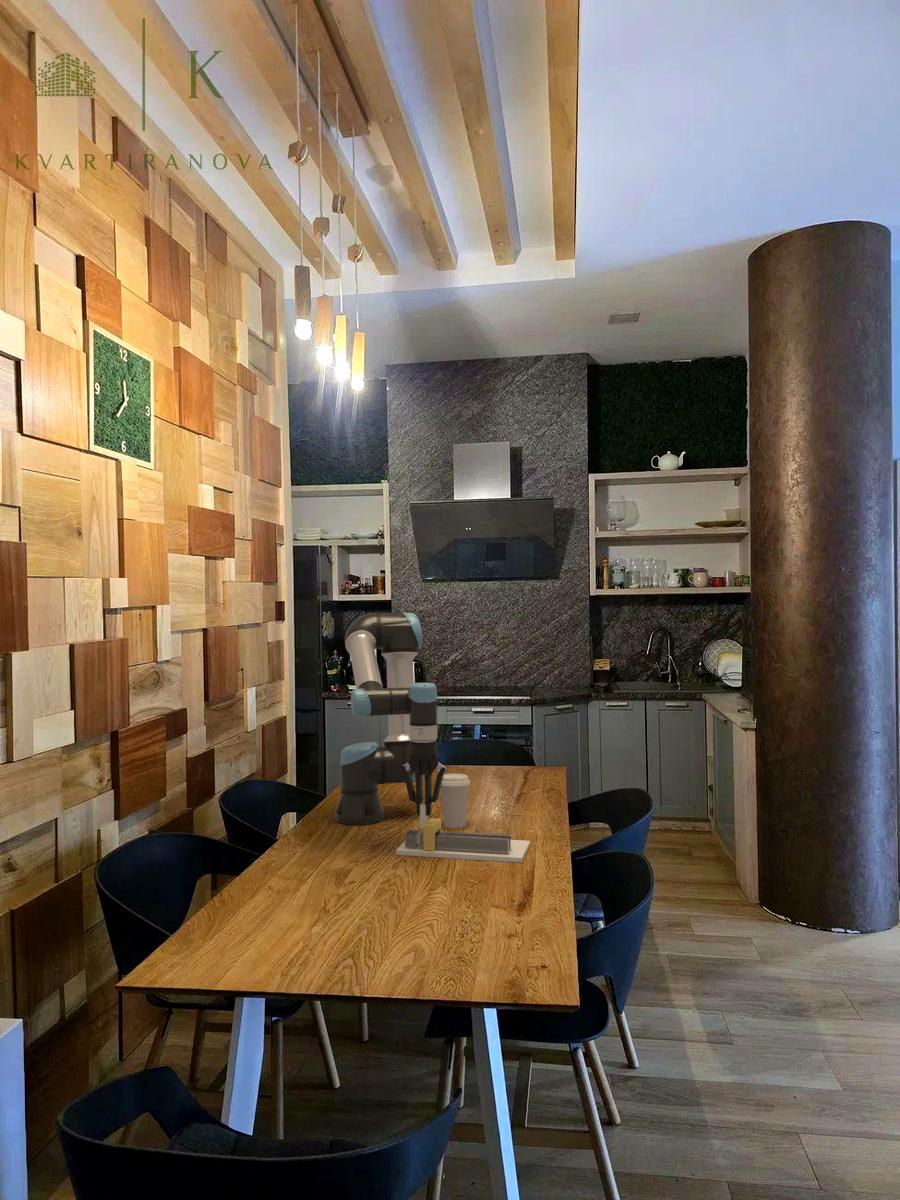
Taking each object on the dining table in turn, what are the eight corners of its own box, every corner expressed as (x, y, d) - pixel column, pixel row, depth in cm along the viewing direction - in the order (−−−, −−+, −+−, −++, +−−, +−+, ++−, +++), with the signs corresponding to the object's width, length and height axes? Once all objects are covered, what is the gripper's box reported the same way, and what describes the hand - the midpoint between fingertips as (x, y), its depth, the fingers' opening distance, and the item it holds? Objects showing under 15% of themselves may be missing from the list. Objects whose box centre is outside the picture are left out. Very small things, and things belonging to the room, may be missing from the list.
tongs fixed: (405, 847, 226) (405, 834, 226) (409, 842, 230) (409, 829, 230) (507, 853, 220) (507, 840, 220) (510, 848, 224) (510, 835, 224)
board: (395, 854, 224) (395, 850, 224) (412, 838, 240) (412, 834, 240) (521, 862, 217) (521, 858, 217) (530, 845, 232) (530, 840, 232)
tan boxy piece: (423, 849, 224) (423, 825, 224) (430, 842, 231) (430, 818, 231) (434, 850, 223) (434, 826, 223) (441, 842, 230) (441, 818, 230)
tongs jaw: (422, 845, 227) (421, 832, 227) (423, 843, 229) (423, 830, 229) (510, 849, 223) (510, 836, 223) (510, 847, 225) (510, 834, 225)
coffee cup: (433, 827, 251) (432, 777, 251) (448, 820, 260) (447, 771, 260) (461, 831, 247) (461, 780, 247) (476, 823, 255) (475, 774, 255)
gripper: (396, 741, 225) (397, 829, 225) (443, 743, 222) (444, 832, 222) (404, 737, 233) (405, 822, 232) (450, 738, 229) (450, 825, 229)
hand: (424, 827), depth 227 cm, fingers closed
